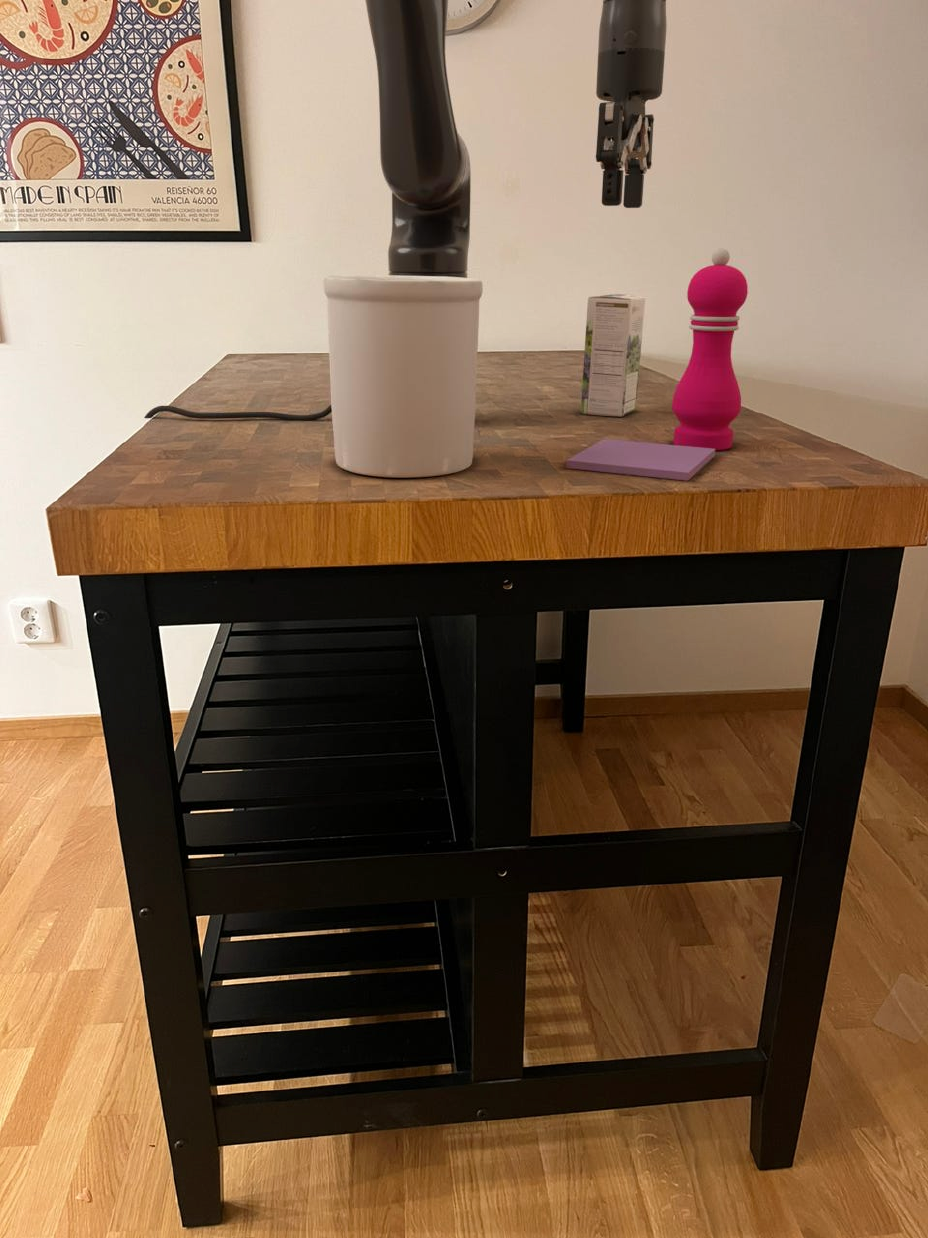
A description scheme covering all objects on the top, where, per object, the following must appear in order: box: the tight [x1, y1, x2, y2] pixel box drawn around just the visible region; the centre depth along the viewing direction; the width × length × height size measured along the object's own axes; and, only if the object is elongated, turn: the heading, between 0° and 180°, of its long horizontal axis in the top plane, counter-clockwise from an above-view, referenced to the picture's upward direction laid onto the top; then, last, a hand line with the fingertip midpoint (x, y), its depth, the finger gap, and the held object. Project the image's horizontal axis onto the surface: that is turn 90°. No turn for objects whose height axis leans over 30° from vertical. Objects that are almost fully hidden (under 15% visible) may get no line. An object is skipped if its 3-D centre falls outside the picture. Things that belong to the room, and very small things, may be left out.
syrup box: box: [580, 293, 646, 418], centre depth 118 cm, size 6×6×14 cm
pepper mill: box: [671, 247, 749, 452], centre depth 98 cm, size 7×7×20 cm
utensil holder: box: [322, 274, 484, 479], centre depth 89 cm, size 15×15×18 cm
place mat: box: [565, 438, 716, 482], centre depth 93 cm, size 12×12×1 cm
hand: (622, 206), depth 111 cm, fingers open, 8 cm apart
